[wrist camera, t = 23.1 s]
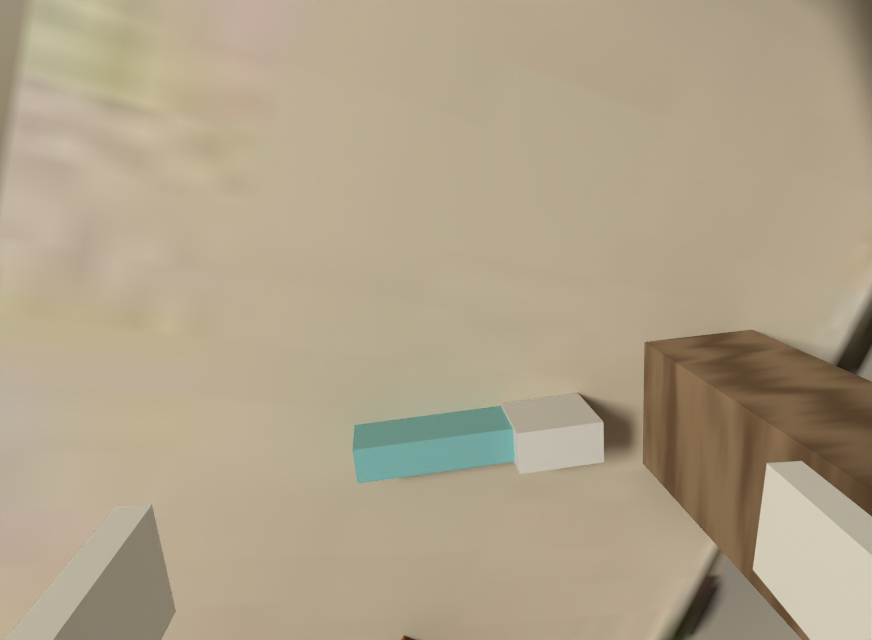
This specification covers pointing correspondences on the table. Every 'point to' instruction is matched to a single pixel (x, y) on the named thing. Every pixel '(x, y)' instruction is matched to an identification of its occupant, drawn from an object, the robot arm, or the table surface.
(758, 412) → the wooden pedestal stand
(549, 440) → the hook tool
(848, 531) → the robot arm
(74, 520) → the table surface
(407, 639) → the blue food carton
